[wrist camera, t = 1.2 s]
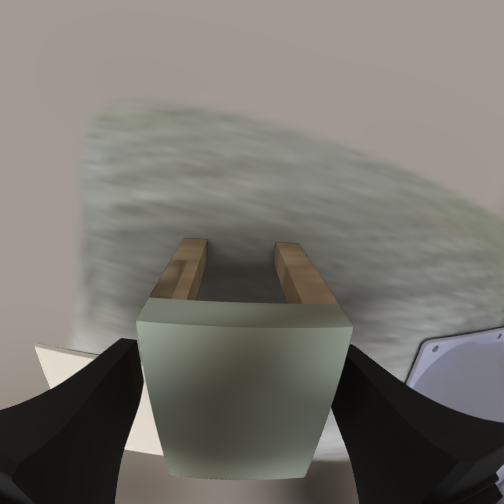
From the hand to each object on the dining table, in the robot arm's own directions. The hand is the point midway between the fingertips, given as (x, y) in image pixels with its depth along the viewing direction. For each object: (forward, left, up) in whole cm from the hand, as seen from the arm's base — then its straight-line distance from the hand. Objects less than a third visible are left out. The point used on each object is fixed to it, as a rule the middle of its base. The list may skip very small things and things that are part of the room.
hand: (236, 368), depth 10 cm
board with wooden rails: (0, 0, -4) cm, 4 cm away
